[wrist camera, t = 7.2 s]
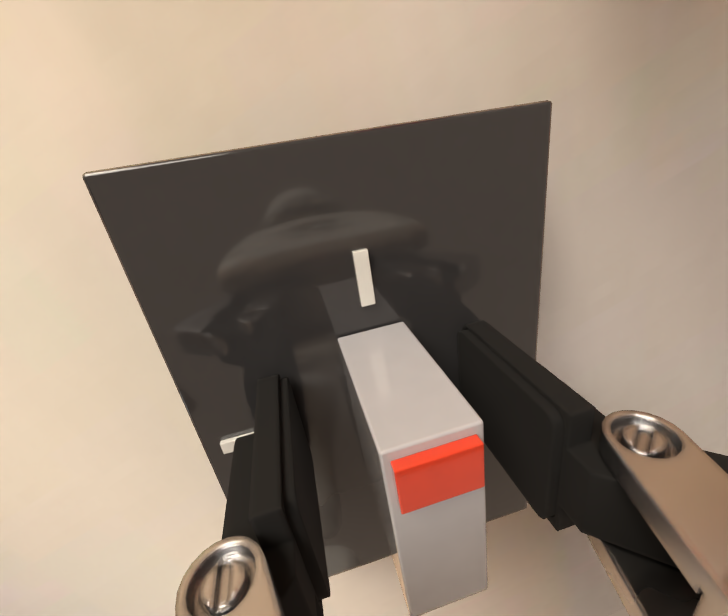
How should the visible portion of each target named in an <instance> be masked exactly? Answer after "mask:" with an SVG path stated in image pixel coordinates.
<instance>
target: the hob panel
mask: <svg viewBox="0 0 728 616" xmlns="http://www.w3.org/2000/svg"><path fill="white" fill-rule="evenodd" d="M551 111H552V103H551V101H548V100H546V101H539V102H533V103H527V104H520V105H514V106H507V107H501V108H495V109H488V110H482V111H475V112H469V113H463V114H456V115H450V116H443V117H437V118H430V119H424V120H418V121H411V122H405V123H398V124H392V125H386V126H379V127H373V128H366V129H360V130H354V131H347V132H341V133H334V134H328V135H321V136H315V137H309V138H302V139H296V140H289V141H283V142H277V143H270V144H264V145H257V146H251V147H244V148H238V149H232V150H225V151H219V152H212V153H206V154H200V155H193V156H187V157H180V158H174V159H168V160H161V161H155V162H148V163H142V164H135V165H129V166H123V167H116V168H110V169H103V170H97V171H91V172H86V173H84V174H83V180H84V182H85V184H86V186H87V189H88V191H89V193H90V195H91V198H92V200H93V202H94V204H95V207H96V209H97V211H98V213H99V215H100V218H101V220H102V222H103V224H104V227H105V229H106V231H107V233H108V235H109V238H110V240H111V242H112V244H113V247H114V249H115V251H116V253H117V256H118V258H119V260H120V262H121V264H122V267H123V269H124V271H125V273H126V276H127V278H128V280H129V282H130V285H131V287H132V289H133V291H134V293H135V296H136V298H137V300H138V302H139V305H140V307H141V309H142V311H143V314H144V316H145V318H146V320H147V322H148V325H149V327H150V329H151V331H152V334H153V336H154V338H155V340H156V343H157V345H158V347H159V349H160V351H161V354H162V356H163V358H164V360H165V363H166V365H167V367H168V369H169V372H170V374H171V376H172V378H173V380H174V383H175V385H176V387H177V389H178V392H179V394H180V396H181V398H182V401H183V403H184V405H185V407H186V409H187V412H188V414H189V416H190V418H191V421H192V423H193V425H194V427H195V430H196V432H197V434H198V436H199V438H200V441H201V443H202V445H203V447H204V450H205V452H206V454H207V456H208V458H209V461H210V463H211V465H212V467H213V470H214V472H215V474H216V476H217V479H218V481H219V483H220V485H221V487H222V490H223V492H224V494H225V496H226V499H227V496H228V488H229V481H230V473H231V465H232V458H233V450H234V444H235V440H236V439H237V438H239V437H242V436H246V435H249V434H253V433H254V423H255V408H256V392H257V381H258V379H262V378H266V377H270V376H274V375H277V374H279V375H280V378H281V379H283V378H287V377H288V379H289V382H290V385H291V388H292V391H293V395H294V398H295V401H296V405H297V408H298V411H299V414H300V418H301V421H302V424H303V428H304V431H305V434H306V437H307V441H308V444H309V447H310V451H311V455H312V459H313V465H314V473H315V481H316V488H317V496H318V503H319V511H320V518H321V526H322V533H323V541H324V548H325V556H326V564H327V571H328V577H331V576H334V575H336V574H339V573H342V572H345V571H348V570H351V569H354V568H357V567H359V566H362V565H365V564H368V563H371V562H374V561H377V560H380V559H382V558H385V557H388V556H391V552H390V548H389V545H388V542H387V538H386V535H385V532H384V528H383V525H382V522H381V518H380V515H379V512H378V508H377V505H376V502H375V498H374V495H373V492H372V488H371V485H370V482H369V478H368V475H367V472H366V468H365V463H364V458H363V454H362V449H361V445H360V440H359V436H358V431H357V427H356V422H355V418H354V413H353V409H352V404H351V400H350V395H349V390H348V386H347V381H346V377H345V372H344V368H343V363H342V359H341V354H340V350H339V345H338V338H340V337H344V336H348V335H352V334H356V333H360V332H364V331H368V330H371V329H375V328H379V327H383V326H387V325H391V324H395V323H399V322H404V323H405V324H406V326H407V327H408V328H409V329H410V330H411V332H412V333H413V334H414V335H415V337H416V338H417V339H418V340H419V342H420V343H421V344H422V345H423V347H424V348H425V349H426V350H427V352H428V353H429V354H430V355H431V357H432V358H433V359H434V360H435V362H436V363H437V364H438V365H439V367H440V368H441V369H442V370H443V372H444V373H445V374H446V375H447V377H448V378H449V379H450V380H451V382H452V383H453V384H454V385H455V387H456V388H457V389H458V390H459V392H460V378H459V359H458V340H457V334H458V332H459V331H462V327H463V326H464V325H466V324H470V323H473V322H477V321H481V320H484V321H486V322H487V323H488V324H490V325H491V326H492V327H493V328H495V329H496V330H497V331H498V332H500V333H501V334H502V335H504V336H505V337H506V338H507V339H509V340H510V341H511V342H512V343H514V344H515V345H516V346H518V347H519V348H520V349H521V350H523V351H524V352H525V353H527V354H528V355H529V356H530V357H532V358H533V359H534V360H535V361H536V351H537V335H538V319H539V303H540V287H541V271H542V255H543V239H544V223H545V207H546V191H547V175H548V159H549V143H550V127H551ZM484 463H485V501H486V522H489V521H492V520H494V519H497V518H500V517H503V516H506V515H509V514H512V513H514V512H517V511H520V510H523V509H525V508H526V507H527V500H526V499H525V497H524V496H523V494H522V493H521V492H520V490H519V489H518V488H517V486H516V485H515V484H514V482H513V481H512V480H511V478H510V477H509V476H508V474H507V473H506V471H505V470H504V469H503V467H502V466H501V465H500V463H499V462H498V461H497V459H496V458H495V457H494V455H493V454H492V452H491V451H490V450H489V448H488V447H487V446H486V444H485V443H484Z"/></svg>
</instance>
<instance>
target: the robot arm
mask: <svg viewBox="0 0 728 616" xmlns="http://www.w3.org/2000/svg"><path fill="white" fill-rule="evenodd" d="M457 340H458V359H459V378H460V393H461V394H462V395H463V397H464V398H465V399H466V400H467V402H468V403H469V404H470V405H471V407H472V408H473V409H474V410H475V412H476V413H477V414H478V415H479V417H480V418H481V419H482V420H483V425H484V443H485V444H486V446H487V447H488V448H489V450H490V451H491V452H492V454H493V455H494V457H495V458H496V459H497V461H498V462H499V463H500V465H501V466H502V467H503V469H504V470H505V471H506V473H507V474H508V476H509V477H510V478H511V480H512V481H513V482H514V484H515V485H516V486H517V488H518V489H519V490H520V492H521V493H522V494H523V496H524V497H525V499H526V500H527V501H528V503H529V504H530V505H531V507H532V508H533V509H534V511H535V512H536V513H537V515H538V516H539V517H541V518H542V519H545V518H547V519H548V520H549V521H550V522H551V524H552V525H553V526H554V528H555V529H556V530H557V531H559V530H562V529H565V528H567V527H570V526H573V525H576V527H577V528H578V529H579V530H580V531H581V532H582V533H585V534H587V535H588V538H589V540H590V542H591V544H592V546H593V548H594V550H595V552H596V554H597V555H598V557H599V559H600V561H601V563H602V565H603V567H604V569H605V571H606V572H607V574H608V576H609V578H610V580H611V582H612V584H613V586H614V588H615V590H616V591H617V593H618V595H619V597H620V599H621V601H622V603H623V605H624V607H625V608H626V610H627V612H628V614H629V616H728V456H725V455H721V454H717V453H712V452H708V451H704V450H702V449H701V448H700V447H699V446H698V445H697V444H696V443H695V442H694V441H693V440H692V439H690V438H689V437H688V436H687V435H686V434H685V433H684V432H683V431H682V430H681V429H679V428H678V427H677V426H675V425H674V424H673V423H671V422H669V421H667V420H665V419H663V418H661V417H658V416H655V415H652V414H650V413H646V412H640V411H635V410H621V411H617V412H612V413H611V414H609V415H607V416H606V417H605V416H604V415H603V414H602V413H600V412H599V411H598V410H597V409H596V408H595V407H594V406H593V405H592V404H590V403H589V402H588V401H587V400H585V399H584V398H583V397H581V396H580V395H579V394H578V393H576V392H575V391H574V390H572V389H571V388H570V387H569V386H567V385H566V384H565V383H564V382H562V381H561V380H560V379H558V378H557V377H556V376H555V375H553V374H552V373H551V372H549V371H548V370H547V369H546V368H544V367H543V366H542V365H541V364H539V363H538V362H537V361H535V360H534V359H533V358H532V357H530V356H529V355H528V354H527V353H525V352H524V351H523V350H521V349H520V348H519V347H518V346H516V345H515V344H514V343H512V342H511V341H510V340H509V339H507V338H506V337H505V336H504V335H502V334H501V333H500V332H498V331H497V330H496V329H495V328H493V327H492V326H491V325H490V324H488V323H487V322H486V321H484V320H481V321H477V322H473V323H470V324H466V325H464V326H463V327H462V331H459V332H458V334H457ZM327 597H330V586H329V579H328V571H327V564H326V556H325V548H324V541H323V533H322V526H321V518H320V511H319V503H318V496H317V488H316V481H315V473H314V465H313V459H312V455H311V451H310V447H309V444H308V441H307V437H306V434H305V431H304V428H303V424H302V421H301V418H300V414H299V411H298V408H297V405H296V401H295V398H294V395H293V391H292V388H291V385H290V382H289V379H288V377H287V378H283V379H281V378H280V375H279V374H277V375H274V376H270V377H266V378H262V379H258V381H257V392H256V408H255V423H254V433H253V434H249V435H246V436H242V437H239V438H237V439H236V440H235V444H234V450H233V458H232V465H231V473H230V481H229V488H228V496H227V504H226V512H225V519H224V527H223V535H222V540H221V541H218V542H216V543H214V544H213V545H212V546H210V547H209V548H207V549H206V550H205V551H203V552H202V553H201V554H200V555H199V556H198V558H197V559H196V560H195V561H194V562H193V563H192V564H191V566H190V567H189V569H188V570H187V572H186V573H185V575H184V576H183V578H182V581H181V584H180V586H179V589H178V591H177V597H176V605H175V616H324V615H323V606H322V599H324V598H327Z"/></svg>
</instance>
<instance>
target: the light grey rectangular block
mask: <svg viewBox="0 0 728 616" xmlns="http://www.w3.org/2000/svg"><path fill="white" fill-rule="evenodd" d="M338 345H339V350H340V354H341V359H342V363H343V368H344V372H345V377H346V381H347V386H348V390H349V395H350V400H351V404H352V409H353V413H354V418H355V422H356V427H357V431H358V436H359V440H360V445H361V449H362V454H363V458H364V463H365V468H366V472H367V475H368V478H369V482H370V485H371V488H372V492H373V495H374V498H375V502H376V505H377V508H378V512H379V515H380V518H381V522H382V525H383V528H384V532H385V535H386V538H387V542H388V545H389V548H390V552H391V555H392V558H393V562H394V565H395V568H396V571H397V575H398V578H399V581H400V585H401V588H402V591H403V595H404V598H405V601H406V605H407V608H408V611H409V615H410V616H419V615H422V614H424V613H427V612H430V611H432V610H435V609H437V608H440V607H442V606H445V605H448V604H450V603H453V602H455V601H458V600H461V599H463V598H466V597H468V596H471V595H473V594H476V593H479V592H481V591H484V590H486V589H487V588H488V577H487V539H486V501H485V463H484V425H483V420H482V419H481V418H480V417H479V415H478V414H477V413H476V412H475V410H474V409H473V408H472V407H471V405H470V404H469V403H468V402H467V400H466V399H465V398H464V397H463V395H462V394H461V393H460V392H459V390H458V389H457V388H456V387H455V385H454V384H453V383H452V382H451V380H450V379H449V378H448V377H447V375H446V374H445V373H444V372H443V370H442V369H441V368H440V367H439V365H438V364H437V363H436V362H435V360H434V359H433V358H432V357H431V355H430V354H429V353H428V352H427V350H426V349H425V348H424V347H423V345H422V344H421V343H420V342H419V340H418V339H417V338H416V337H415V335H414V334H413V333H412V332H411V330H410V329H409V328H408V327H407V326H406V324H405V323H404V322H399V323H395V324H391V325H387V326H383V327H379V328H375V329H371V330H368V331H364V332H360V333H356V334H352V335H348V336H344V337H340V338H338Z"/></svg>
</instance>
